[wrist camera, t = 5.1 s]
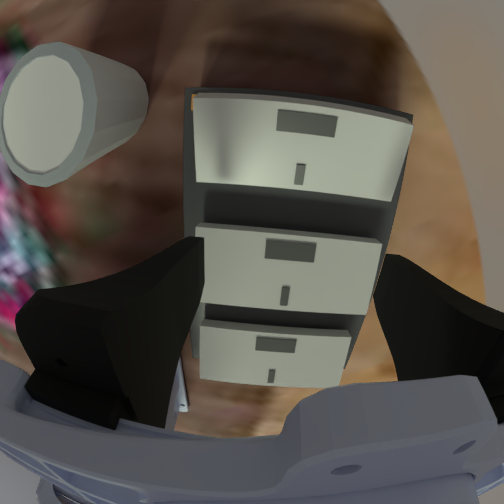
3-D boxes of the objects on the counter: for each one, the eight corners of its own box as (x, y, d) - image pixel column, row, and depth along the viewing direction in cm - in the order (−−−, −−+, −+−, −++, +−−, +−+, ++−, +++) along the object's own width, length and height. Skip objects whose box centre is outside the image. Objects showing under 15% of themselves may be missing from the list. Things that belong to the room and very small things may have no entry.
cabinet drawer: (385, 191, 14) (391, 202, 13) (201, 171, 14) (196, 182, 13) (405, 118, 11) (414, 126, 10) (198, 92, 11) (192, 98, 11)
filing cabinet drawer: (361, 306, 16) (366, 315, 15) (198, 293, 16) (194, 302, 15) (375, 238, 15) (382, 244, 14) (200, 222, 15) (195, 227, 14)
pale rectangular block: (335, 379, 19) (338, 388, 18) (202, 370, 19) (199, 378, 18) (347, 329, 18) (351, 337, 17) (203, 318, 18) (199, 326, 17)
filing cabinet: (340, 341, 23) (347, 373, 20) (200, 330, 23) (191, 362, 20) (394, 112, 15) (419, 116, 12) (199, 90, 15) (182, 87, 12)
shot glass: (181, 96, 15) (127, 94, 9) (114, 177, 18) (50, 216, 12) (109, 35, 13) (39, 18, 7) (54, 116, 16) (-19, 135, 10)
